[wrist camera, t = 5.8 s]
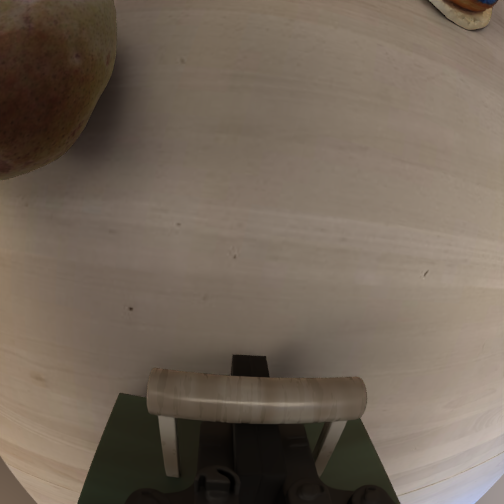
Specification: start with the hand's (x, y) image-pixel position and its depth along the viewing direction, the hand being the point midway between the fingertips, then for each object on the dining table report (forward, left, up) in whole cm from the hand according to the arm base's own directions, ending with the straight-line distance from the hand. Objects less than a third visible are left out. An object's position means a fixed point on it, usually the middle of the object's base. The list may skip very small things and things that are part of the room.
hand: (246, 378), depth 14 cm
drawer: (+7, 0, -1) cm, 7 cm away
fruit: (-13, -11, -2) cm, 18 cm away
